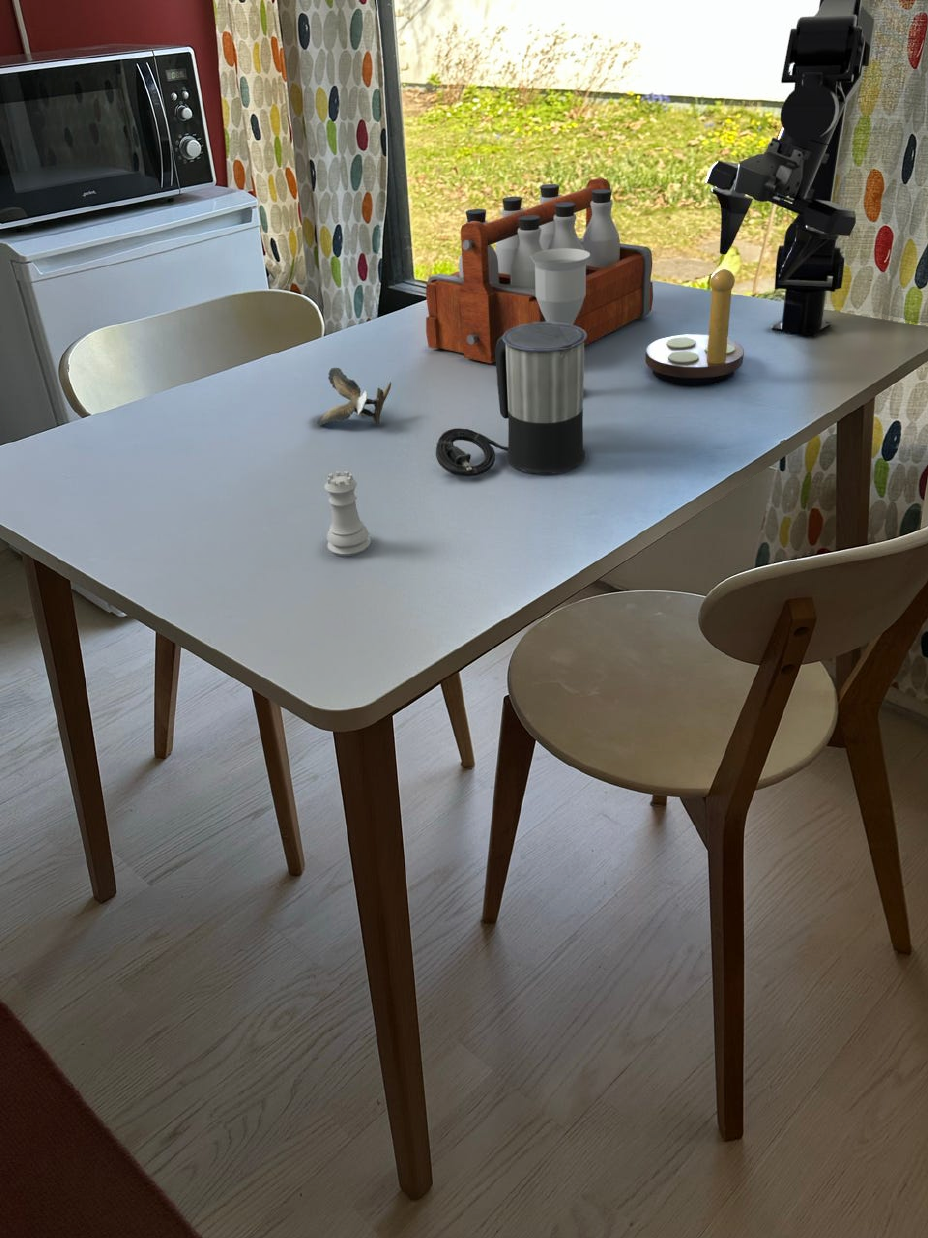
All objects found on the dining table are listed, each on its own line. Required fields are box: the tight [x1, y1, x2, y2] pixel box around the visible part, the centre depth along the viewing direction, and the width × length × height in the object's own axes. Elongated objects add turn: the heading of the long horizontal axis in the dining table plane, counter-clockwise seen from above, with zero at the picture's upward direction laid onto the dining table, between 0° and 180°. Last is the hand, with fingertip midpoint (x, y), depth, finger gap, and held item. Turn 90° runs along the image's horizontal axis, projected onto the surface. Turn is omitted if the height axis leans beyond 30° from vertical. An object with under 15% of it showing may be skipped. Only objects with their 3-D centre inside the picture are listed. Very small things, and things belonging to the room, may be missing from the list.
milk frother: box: [435, 322, 587, 477], centre depth 116 cm, size 14×16×15 cm
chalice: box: [531, 248, 590, 325], centre depth 132 cm, size 7×7×18 cm
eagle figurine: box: [316, 367, 392, 427], centre depth 132 cm, size 8×7×9 cm
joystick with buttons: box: [644, 268, 745, 378], centre depth 137 cm, size 13×13×13 cm
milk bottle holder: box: [425, 177, 654, 364], centre depth 153 cm, size 21×35×19 cm, turn 141°
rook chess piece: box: [324, 470, 372, 558], centre depth 104 cm, size 4×4×8 cm
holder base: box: [651, 369, 735, 387], centre depth 141 cm, size 11×11×1 cm
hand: (751, 267), depth 131 cm, fingers open, 9 cm apart
